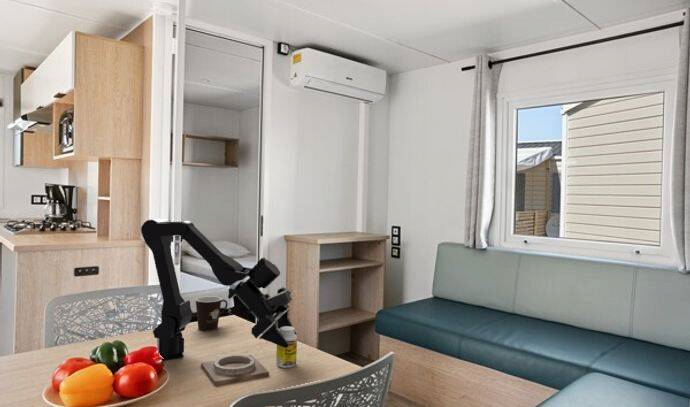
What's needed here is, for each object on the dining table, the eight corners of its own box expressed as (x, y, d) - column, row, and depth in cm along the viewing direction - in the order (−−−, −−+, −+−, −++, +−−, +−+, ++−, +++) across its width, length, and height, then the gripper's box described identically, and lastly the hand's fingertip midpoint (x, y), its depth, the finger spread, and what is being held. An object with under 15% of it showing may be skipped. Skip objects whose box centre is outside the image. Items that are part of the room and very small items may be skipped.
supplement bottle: (284, 370, 125) (285, 332, 125) (272, 364, 129) (273, 327, 129) (300, 365, 129) (301, 328, 128) (288, 359, 133) (289, 324, 132)
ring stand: (214, 385, 114) (215, 375, 114) (201, 366, 126) (201, 357, 126) (269, 375, 121) (269, 366, 121) (250, 358, 133) (251, 349, 133)
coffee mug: (197, 333, 155) (198, 303, 154) (192, 326, 162) (193, 297, 162) (232, 329, 160) (233, 300, 160) (226, 322, 168) (227, 294, 167)
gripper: (264, 286, 119) (305, 332, 118) (283, 274, 138) (318, 313, 137) (234, 315, 121) (274, 360, 120) (256, 299, 139) (292, 338, 138)
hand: (291, 341), depth 128 cm, fingers open, 9 cm apart
